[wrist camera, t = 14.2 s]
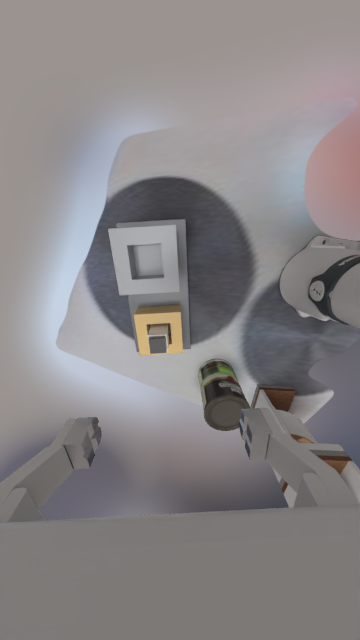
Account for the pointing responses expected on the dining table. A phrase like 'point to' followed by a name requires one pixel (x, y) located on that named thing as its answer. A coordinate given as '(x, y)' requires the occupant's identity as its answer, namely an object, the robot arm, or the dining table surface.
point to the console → (154, 278)
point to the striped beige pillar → (304, 438)
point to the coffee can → (221, 395)
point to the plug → (158, 338)
